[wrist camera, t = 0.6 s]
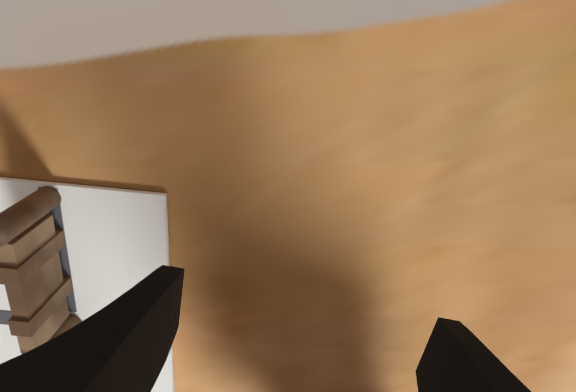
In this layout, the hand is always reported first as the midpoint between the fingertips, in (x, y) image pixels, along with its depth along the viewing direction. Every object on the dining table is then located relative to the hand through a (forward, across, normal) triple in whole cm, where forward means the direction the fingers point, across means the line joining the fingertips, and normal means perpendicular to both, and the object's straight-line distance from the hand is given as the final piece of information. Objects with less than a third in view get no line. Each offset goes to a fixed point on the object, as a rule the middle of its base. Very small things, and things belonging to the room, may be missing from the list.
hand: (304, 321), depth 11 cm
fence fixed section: (+9, +12, +7) cm, 17 cm away
